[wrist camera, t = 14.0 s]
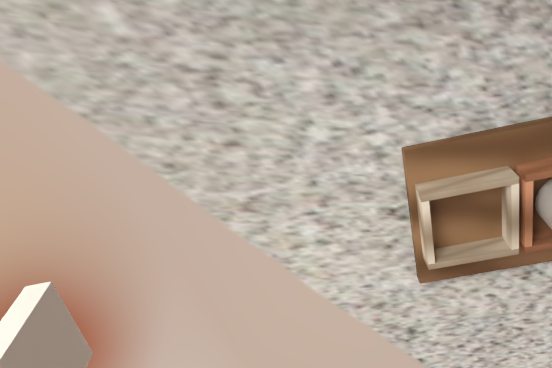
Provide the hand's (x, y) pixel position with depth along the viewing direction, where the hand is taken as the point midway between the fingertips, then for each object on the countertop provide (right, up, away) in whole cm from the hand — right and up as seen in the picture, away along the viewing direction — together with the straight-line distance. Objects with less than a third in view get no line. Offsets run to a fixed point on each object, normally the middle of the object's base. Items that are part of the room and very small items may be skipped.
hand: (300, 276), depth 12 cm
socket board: (+20, +1, +29) cm, 35 cm away
